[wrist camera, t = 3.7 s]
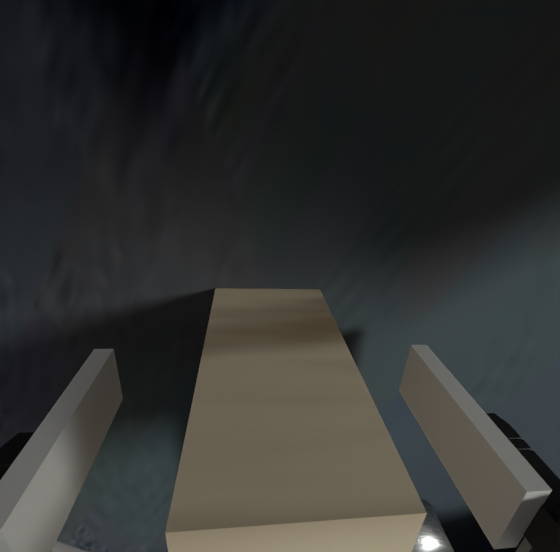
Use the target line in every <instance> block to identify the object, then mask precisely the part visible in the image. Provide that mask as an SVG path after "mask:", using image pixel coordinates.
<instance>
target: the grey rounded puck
mask: <svg viewBox="0 0 560 552" xmlns="http://www.w3.org/2000/svg"><path fill="white" fill-rule="evenodd" d="M420 500H421V502H422V504H423V506H424V508H425V510H426V512H427V514H426V517H425V519H424V522H423V524H422V527H421V529H420V532H419V534H418V537H417V539H416V542H415V544H414V547H413V549H412V552H454V550H453V548H452V546H451V544H450V542H449V540H448V538H447V536H446V534H445V532H444V530H443V528H442V526H441V524H440V522H439V520H438V518H437V516H436V513H435V511H434V509H433V507H432V506H431V505H430V504H429V503H428V502H427V501H425V500H423V499H420Z"/></svg>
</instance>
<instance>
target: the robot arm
mask: <svg viewBox="0 0 560 552" xmlns="http://www.w3.org/2000/svg"><path fill="white" fill-rule="evenodd" d="M399 392H400V394H401V395H402V397H403V399H404V400H405V402H406V404H407V405H408V407H409V409H410V410H411V412H412V414H413V415H414V417H415V419H416V420H417V422H418V424H419V425H420V427H421V429H422V430H423V432H424V434H425V435H426V437H427V439H428V440H429V442H430V444H431V445H432V447H433V449H434V450H435V452H436V454H437V455H438V457H439V459H440V460H441V462H442V464H443V465H444V467H445V469H446V470H447V472H448V474H449V475H450V477H451V479H452V480H453V482H454V484H455V485H456V487H457V489H458V490H459V492H460V494H461V495H462V497H463V499H464V500H465V502H466V504H467V505H468V507H469V509H470V510H471V512H472V514H473V515H474V517H475V519H476V520H477V522H478V524H479V525H480V527H481V529H482V530H483V532H484V534H485V535H486V537H487V539H488V540H489V542H490V544H491V545H492V547H493V549H502V548H513V547H517V546H518V544H519V542H520V541H521V539H522V538H523V536H525V538H526V539H527V541H528V542H529V543H530V545H531V546H532V548H531V549H530V551H529V552H560V479H559V478H558V477H557V476H556V475H555V474H554V473H553V472H552V471H551V470H550V468H549V467H548V466H547V465H546V464H545V463H544V462H543V461H542V460H541V459H540V457H539V456H538V455H537V454H536V453H535V452H534V451H532V450H531V448H530V447H529V445H528V444H527V443H526V442H525V441H524V440H522V439H521V437H520V436H519V434H518V433H517V432H516V431H515V430H514V429H513V428H512V427H511V426H510V425H509V424H508V423H507V422H505V421H504V420H503V419H501V418H500V417H498V416H497V415H496V414H494V413H489V414H486V413H485V412H484V411H483V410H482V408H481V407H480V406H479V405H478V404H477V403H476V401H475V400H474V399H473V398H472V397H471V396H470V394H469V393H468V392H467V391H466V390H465V389H464V388H463V386H462V385H461V384H460V383H459V382H458V381H457V379H456V378H455V377H454V376H453V375H452V374H451V372H450V371H449V370H448V369H447V368H446V367H445V366H444V364H443V363H442V362H441V361H440V360H439V359H438V357H437V356H436V355H435V354H434V353H433V352H432V351H431V349H430V348H429V347H428V346H427V345H411V347H410V351H409V354H408V358H407V362H406V366H405V369H404V373H403V377H402V380H401V384H400V388H399ZM122 400H123V396H122V391H121V385H120V380H119V375H118V369H117V364H116V359H115V353H114V349H94V350H93V351H92V353H91V354H90V356H89V357H88V358H87V360H86V361H85V363H84V364H83V365H82V367H81V368H80V370H79V371H78V372H77V374H76V375H75V377H74V378H73V379H72V381H71V382H70V384H69V385H68V386H67V388H66V389H65V391H64V392H63V393H62V395H61V396H60V398H59V399H58V400H57V402H56V403H55V405H54V406H53V407H52V409H51V410H50V412H49V413H48V414H47V416H46V417H45V419H44V420H43V421H42V423H41V424H40V426H39V427H38V428H37V430H36V431H35V432H33V433H18V434H17V435H15V436H14V437H13V438H12V439H10V440H9V441H8V442H7V443H5V444H4V445H3V446H2V447H1V448H0V552H51V551H52V549H53V547H54V545H55V543H56V541H57V539H58V536H59V534H60V532H61V530H62V528H63V526H64V524H65V521H66V519H67V517H68V515H69V513H70V511H71V509H72V507H73V504H74V502H75V500H76V498H77V496H78V494H79V492H80V490H81V487H82V485H83V483H84V481H85V479H86V477H87V475H88V472H89V470H90V468H91V466H92V464H93V462H94V460H95V458H96V455H97V453H98V451H99V449H100V447H101V445H102V443H103V441H104V438H105V436H106V434H107V432H108V430H109V428H110V426H111V423H112V421H113V419H114V417H115V415H116V413H117V411H118V409H119V406H120V404H121V402H122Z"/></svg>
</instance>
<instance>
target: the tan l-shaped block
mask: <svg viewBox="0 0 560 552" xmlns="http://www.w3.org/2000/svg"><path fill="white" fill-rule="evenodd" d="M426 514H427V512H426V510H425V508H424V506H423V504H422V502H421V500H420V497H419V495H418V493H417V491H416V489H415V487H414V485H413V483H412V481H411V479H410V477H409V474H408V472H407V470H406V468H405V466H404V464H403V462H402V460H401V458H400V456H399V454H398V451H397V449H396V447H395V445H394V443H393V441H392V439H391V437H390V435H389V433H388V431H387V428H386V426H385V424H384V422H383V420H382V418H381V416H380V414H379V412H378V410H377V408H376V406H375V403H374V401H373V399H372V397H371V395H370V393H369V391H368V389H367V387H366V385H365V383H364V380H363V378H362V376H361V374H360V372H359V370H358V368H357V366H356V364H355V362H354V360H353V357H352V355H351V353H350V351H349V349H348V347H347V345H346V343H345V341H344V339H343V337H342V334H341V332H340V330H339V328H338V326H337V324H336V322H335V320H334V318H333V316H332V314H331V312H330V309H329V307H328V305H327V303H326V301H325V299H324V297H323V295H322V293H321V291H320V289H235V288H215V293H214V298H213V303H212V308H211V312H210V317H209V322H208V327H207V332H206V337H205V342H204V347H203V351H202V356H201V361H200V366H199V371H198V376H197V381H196V386H195V390H194V395H193V400H192V405H191V410H190V415H189V420H188V425H187V429H186V434H185V439H184V444H183V449H182V454H181V459H180V464H179V469H178V473H177V478H176V483H175V488H174V493H173V498H172V503H171V508H170V512H169V517H168V522H167V527H166V532H165V534H166V540H167V547H168V552H412V549H413V547H414V544H415V542H416V539H417V537H418V534H419V532H420V529H421V527H422V524H423V522H424V519H425V517H426Z"/></svg>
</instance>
